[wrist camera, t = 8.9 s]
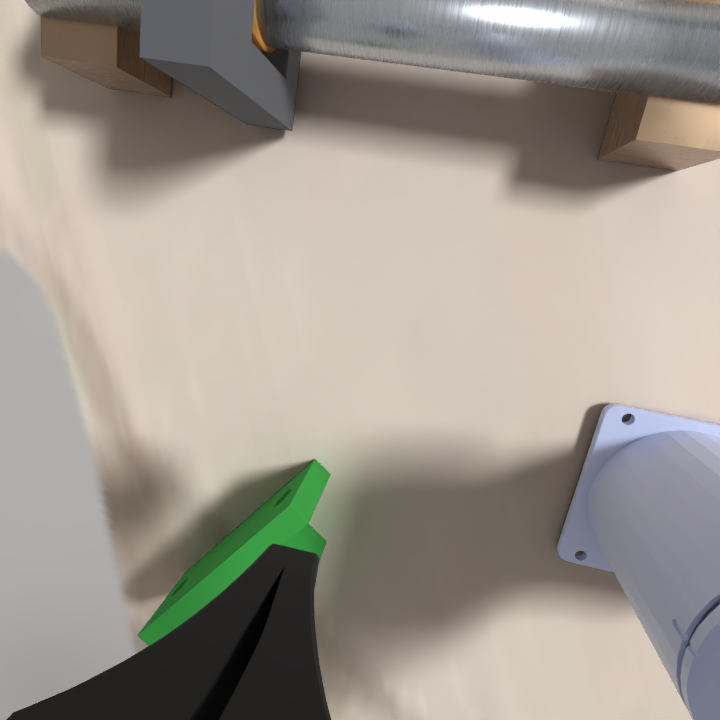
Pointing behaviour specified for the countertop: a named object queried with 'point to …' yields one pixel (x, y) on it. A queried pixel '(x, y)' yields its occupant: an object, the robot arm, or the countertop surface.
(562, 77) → the pipe rig
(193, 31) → the collar
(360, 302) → the countertop surface
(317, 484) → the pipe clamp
